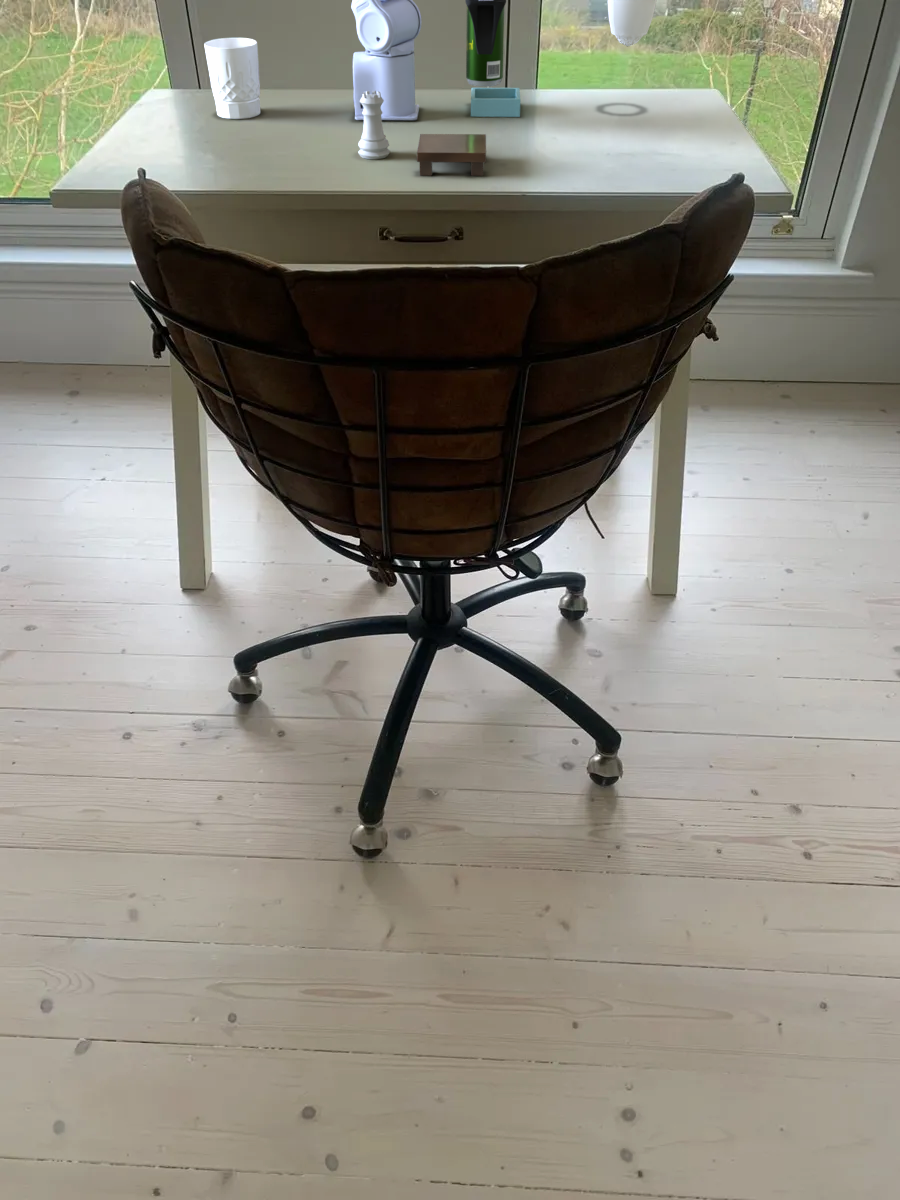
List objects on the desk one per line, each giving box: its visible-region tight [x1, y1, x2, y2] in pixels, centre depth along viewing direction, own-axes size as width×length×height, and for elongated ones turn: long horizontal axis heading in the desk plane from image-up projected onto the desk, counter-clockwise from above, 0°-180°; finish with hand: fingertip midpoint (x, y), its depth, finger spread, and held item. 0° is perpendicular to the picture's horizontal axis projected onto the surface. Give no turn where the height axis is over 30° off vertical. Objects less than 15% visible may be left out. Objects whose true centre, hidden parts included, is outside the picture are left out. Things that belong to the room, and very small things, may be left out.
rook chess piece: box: [357, 91, 391, 160], centre depth 144 cm, size 4×4×8 cm
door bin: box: [470, 87, 521, 118], centre depth 165 cm, size 8×8×2 cm
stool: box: [416, 133, 487, 177], centre depth 141 cm, size 9×9×3 cm
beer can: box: [465, 5, 506, 88], centre depth 151 cm, size 5×5×12 cm
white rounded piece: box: [607, 0, 658, 47], centre depth 160 cm, size 7×7×21 cm
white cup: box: [203, 37, 261, 120], centre depth 161 cm, size 8×8×10 cm
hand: (484, 49), depth 152 cm, fingers closed on beer can, 5 cm apart
